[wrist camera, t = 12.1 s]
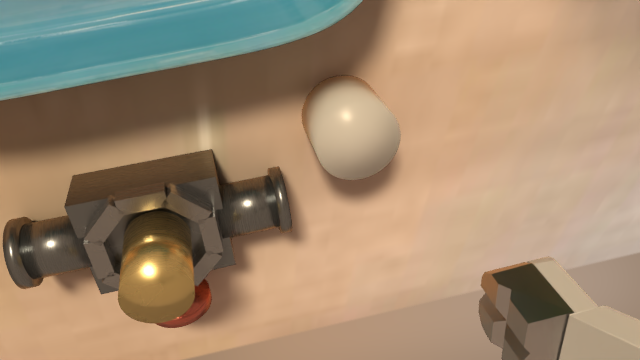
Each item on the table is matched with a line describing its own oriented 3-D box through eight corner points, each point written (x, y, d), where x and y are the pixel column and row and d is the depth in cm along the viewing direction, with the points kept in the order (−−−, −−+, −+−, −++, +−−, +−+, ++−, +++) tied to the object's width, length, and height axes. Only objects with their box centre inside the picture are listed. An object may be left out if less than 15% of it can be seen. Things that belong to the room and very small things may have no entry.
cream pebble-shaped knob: (376, 68, 41) (399, 94, 37) (379, 139, 44) (401, 170, 40) (297, 83, 40) (312, 111, 36) (306, 154, 44) (320, 187, 39)
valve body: (271, 133, 42) (284, 168, 37) (290, 255, 48) (302, 298, 44) (3, 183, 39) (-18, 228, 35) (62, 306, 46) (51, 357, 41)
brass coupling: (183, 205, 39) (186, 260, 34) (196, 255, 41) (201, 313, 36) (115, 219, 38) (108, 277, 33) (133, 269, 40) (129, 330, 35)
